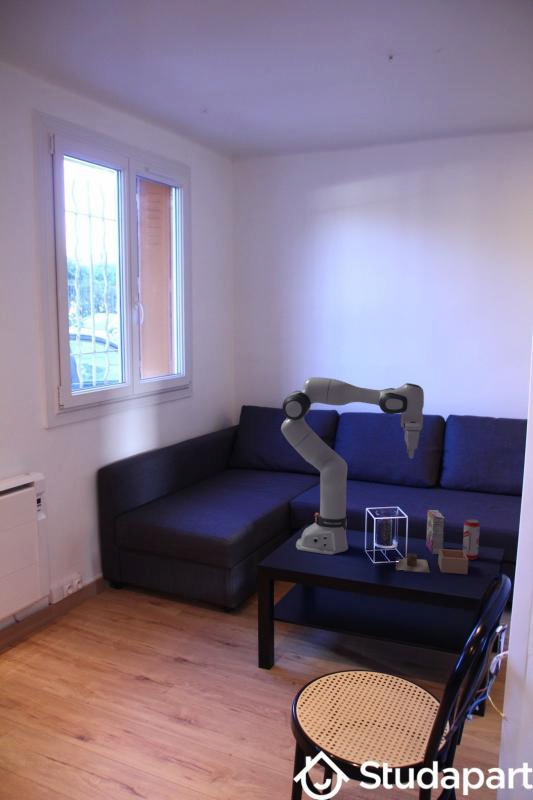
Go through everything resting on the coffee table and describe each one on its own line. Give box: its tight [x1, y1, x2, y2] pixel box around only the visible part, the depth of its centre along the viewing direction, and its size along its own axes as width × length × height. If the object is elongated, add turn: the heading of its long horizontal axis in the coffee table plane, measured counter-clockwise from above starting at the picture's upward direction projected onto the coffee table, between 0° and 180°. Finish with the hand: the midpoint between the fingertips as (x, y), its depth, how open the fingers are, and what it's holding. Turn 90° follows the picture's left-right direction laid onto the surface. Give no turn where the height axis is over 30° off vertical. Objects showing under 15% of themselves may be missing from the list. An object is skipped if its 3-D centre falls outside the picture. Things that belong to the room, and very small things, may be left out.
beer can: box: [461, 518, 481, 561], centre depth 263 cm, size 6×6×16 cm
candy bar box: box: [425, 509, 446, 556], centre depth 271 cm, size 11×5×16 cm, turn 179°
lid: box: [394, 552, 431, 574], centre depth 254 cm, size 13×13×5 cm
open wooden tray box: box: [437, 548, 469, 575], centre depth 252 cm, size 10×10×6 cm
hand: (410, 455), depth 261 cm, fingers open, 8 cm apart
